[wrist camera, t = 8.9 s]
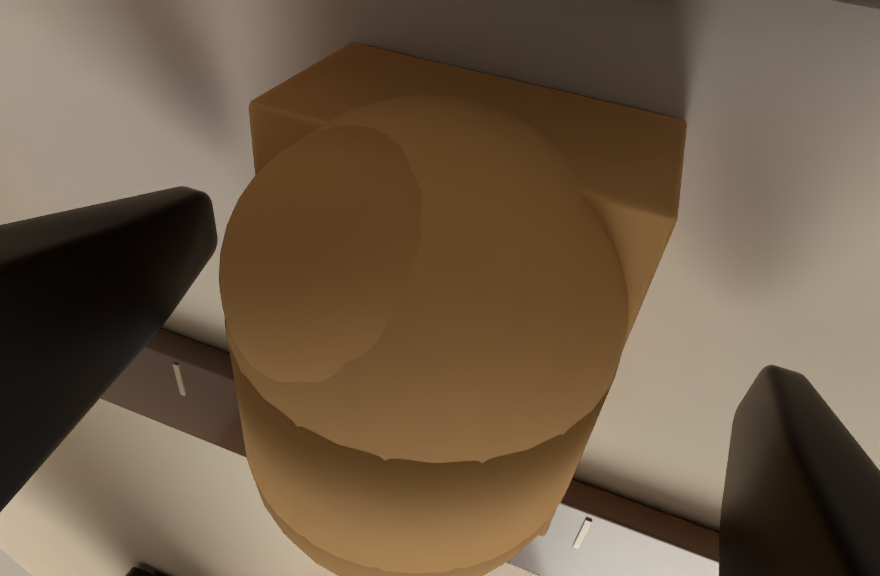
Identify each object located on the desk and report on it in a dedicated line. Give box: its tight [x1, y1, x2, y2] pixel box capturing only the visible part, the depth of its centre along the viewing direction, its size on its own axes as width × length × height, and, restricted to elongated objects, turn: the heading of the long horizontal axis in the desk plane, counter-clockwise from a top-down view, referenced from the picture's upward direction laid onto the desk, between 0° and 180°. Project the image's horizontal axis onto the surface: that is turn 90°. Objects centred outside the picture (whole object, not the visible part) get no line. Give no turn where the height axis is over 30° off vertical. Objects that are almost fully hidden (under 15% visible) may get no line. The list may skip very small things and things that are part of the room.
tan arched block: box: [219, 43, 687, 576], centre depth 8 cm, size 6×4×5 cm
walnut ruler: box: [100, 329, 719, 576], centre depth 13 cm, size 3×18×1 cm, turn 84°
